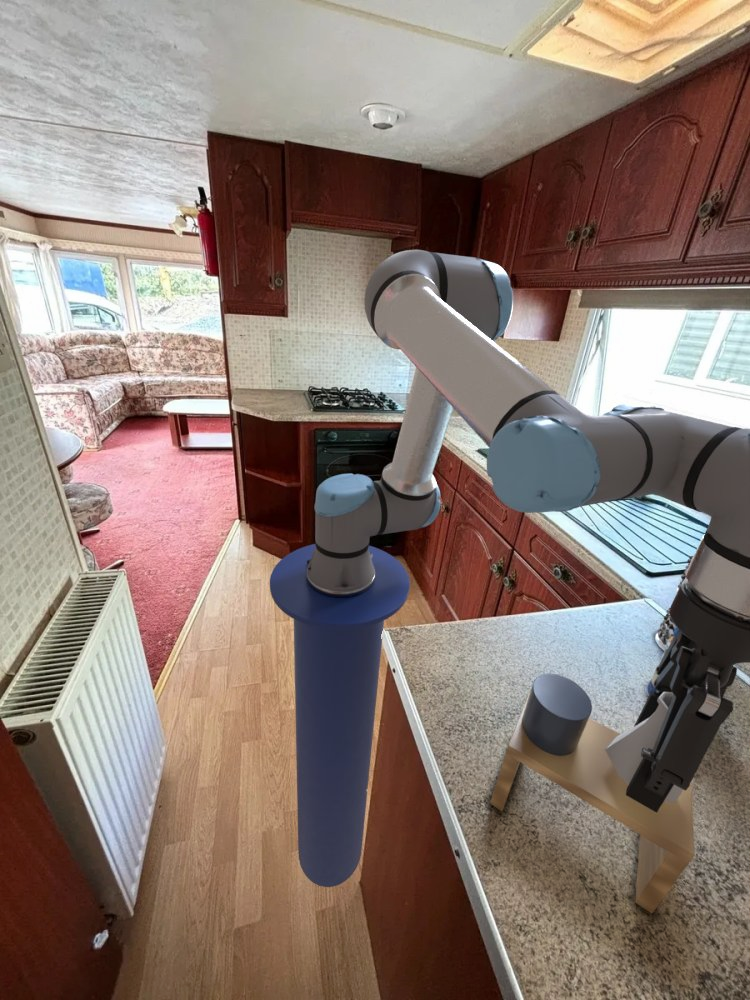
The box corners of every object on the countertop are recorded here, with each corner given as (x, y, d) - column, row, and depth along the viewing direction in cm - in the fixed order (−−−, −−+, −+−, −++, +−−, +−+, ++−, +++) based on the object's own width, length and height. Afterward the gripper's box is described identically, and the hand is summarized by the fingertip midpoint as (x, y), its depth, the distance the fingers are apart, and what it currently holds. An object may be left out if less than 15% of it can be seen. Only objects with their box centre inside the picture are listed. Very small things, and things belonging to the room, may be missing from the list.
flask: (639, 730, 48) (670, 669, 44) (699, 793, 42) (742, 729, 38) (591, 745, 46) (620, 682, 42) (647, 814, 40) (687, 748, 36)
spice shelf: (490, 803, 52) (508, 745, 47) (513, 743, 60) (531, 688, 55) (652, 914, 43) (694, 855, 38) (655, 827, 51) (691, 769, 46)
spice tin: (515, 734, 48) (526, 699, 46) (529, 698, 53) (540, 664, 51) (572, 767, 45) (587, 731, 43) (581, 725, 50) (596, 691, 48)
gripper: (833, 705, 25) (687, 892, 34) (771, 562, 40) (683, 718, 50) (686, 647, 28) (591, 831, 38) (681, 537, 44) (615, 686, 54)
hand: (643, 766), depth 44 cm, fingers closed on flask, 8 cm apart
